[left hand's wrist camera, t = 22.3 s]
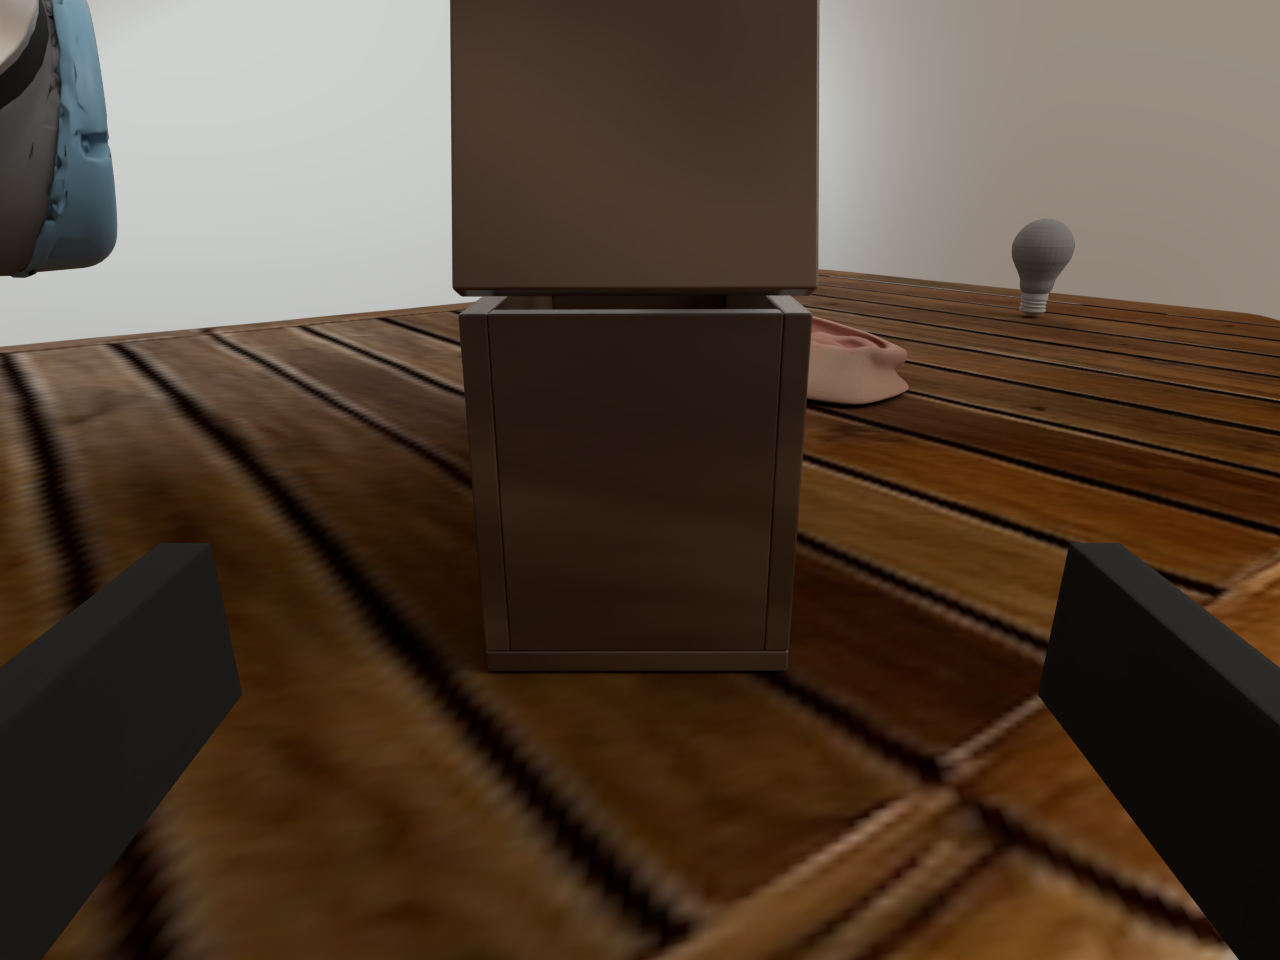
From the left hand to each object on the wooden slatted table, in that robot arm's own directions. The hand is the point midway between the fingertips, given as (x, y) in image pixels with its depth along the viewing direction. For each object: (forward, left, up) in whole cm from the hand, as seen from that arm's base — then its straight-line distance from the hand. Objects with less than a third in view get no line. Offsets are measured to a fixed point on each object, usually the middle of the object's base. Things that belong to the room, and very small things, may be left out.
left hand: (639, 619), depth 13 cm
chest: (-15, +12, -8) cm, 21 cm away
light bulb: (-33, +83, -8) cm, 89 cm away
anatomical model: (-28, +42, -8) cm, 51 cm away
